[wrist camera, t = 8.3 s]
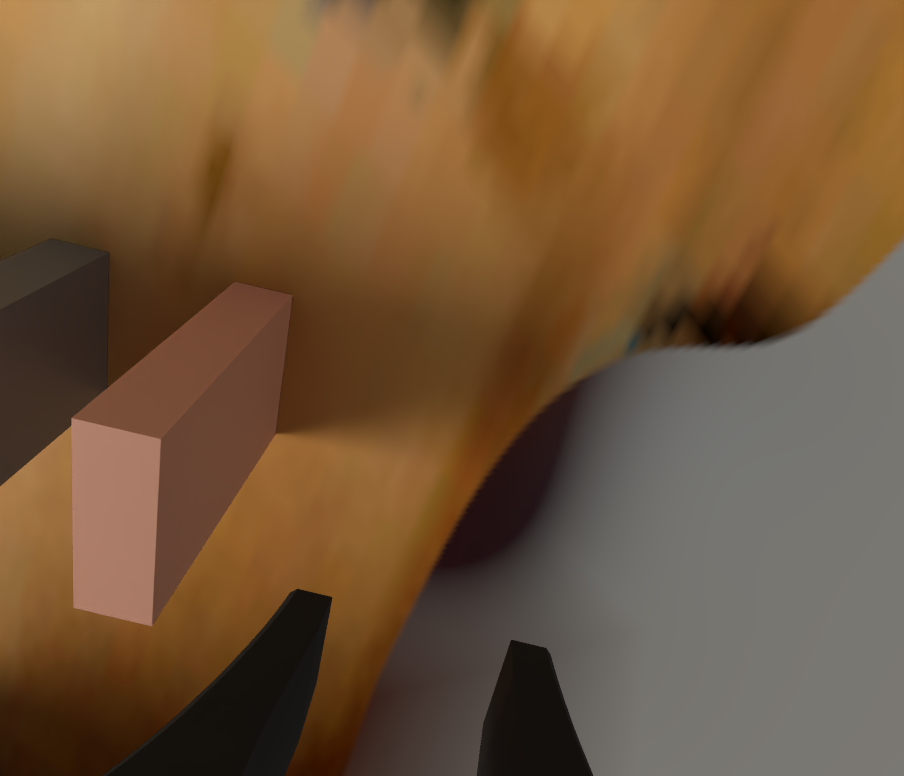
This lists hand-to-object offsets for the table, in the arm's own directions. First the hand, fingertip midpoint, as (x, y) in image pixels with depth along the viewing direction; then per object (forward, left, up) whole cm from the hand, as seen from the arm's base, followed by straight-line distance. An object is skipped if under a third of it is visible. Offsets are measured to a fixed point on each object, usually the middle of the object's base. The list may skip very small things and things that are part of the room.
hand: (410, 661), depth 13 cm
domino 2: (0, +6, -9) cm, 11 cm away
